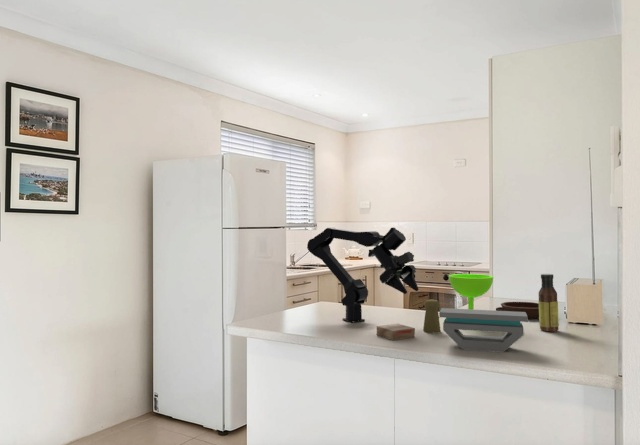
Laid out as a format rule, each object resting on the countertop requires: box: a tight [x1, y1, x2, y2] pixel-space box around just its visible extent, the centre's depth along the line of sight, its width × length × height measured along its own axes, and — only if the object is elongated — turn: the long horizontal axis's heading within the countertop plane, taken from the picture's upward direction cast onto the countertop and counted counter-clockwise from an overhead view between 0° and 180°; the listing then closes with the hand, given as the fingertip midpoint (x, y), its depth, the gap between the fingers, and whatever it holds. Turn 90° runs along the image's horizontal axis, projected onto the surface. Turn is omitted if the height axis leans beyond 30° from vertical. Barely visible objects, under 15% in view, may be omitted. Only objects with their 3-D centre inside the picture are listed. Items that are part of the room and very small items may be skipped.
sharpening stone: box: [438, 307, 529, 353], centre depth 159 cm, size 25×8×11 cm, turn 73°
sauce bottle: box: [538, 273, 560, 333], centre depth 184 cm, size 6×6×20 cm
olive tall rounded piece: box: [422, 299, 442, 334], centre depth 183 cm, size 6×6×11 cm
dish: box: [495, 301, 539, 320], centre depth 212 cm, size 18×22×5 cm
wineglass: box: [448, 273, 494, 310], centre depth 195 cm, size 16×16×18 cm
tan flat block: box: [376, 323, 416, 341], centre depth 175 cm, size 9×9×3 cm
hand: (412, 291), depth 188 cm, fingers open, 9 cm apart
